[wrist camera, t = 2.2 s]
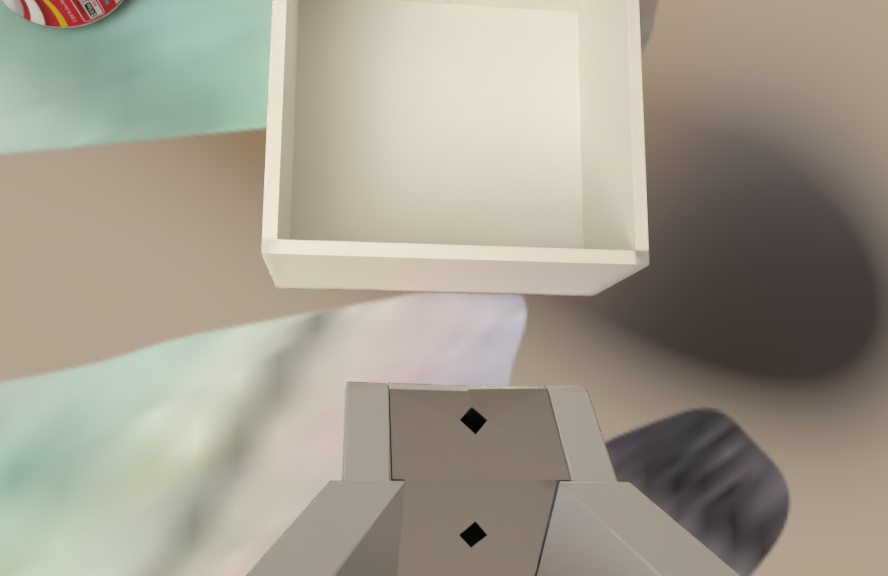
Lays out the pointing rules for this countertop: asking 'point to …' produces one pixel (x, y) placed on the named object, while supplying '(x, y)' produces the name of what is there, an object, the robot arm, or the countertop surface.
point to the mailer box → (455, 146)
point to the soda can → (63, 11)
